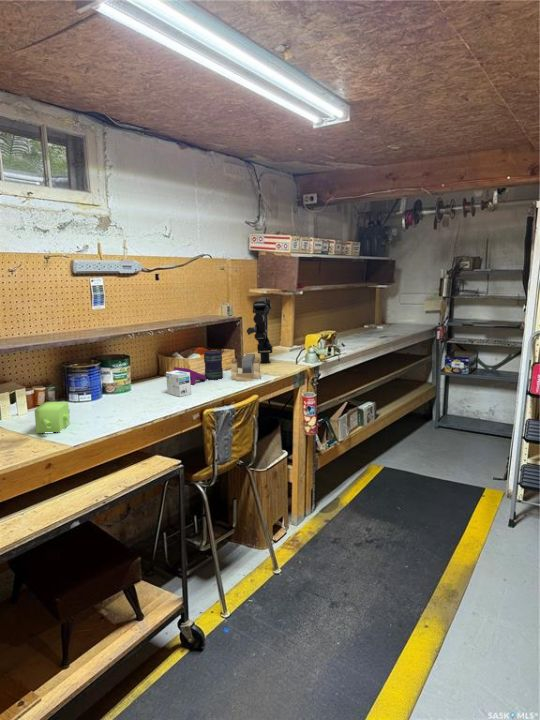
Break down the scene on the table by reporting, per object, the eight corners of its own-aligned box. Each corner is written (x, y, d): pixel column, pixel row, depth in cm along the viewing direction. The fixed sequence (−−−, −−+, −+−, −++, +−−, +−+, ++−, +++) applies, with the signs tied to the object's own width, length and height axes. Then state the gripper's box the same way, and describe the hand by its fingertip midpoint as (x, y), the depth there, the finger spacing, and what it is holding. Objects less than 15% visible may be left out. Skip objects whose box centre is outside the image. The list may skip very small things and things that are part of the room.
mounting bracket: (193, 390, 254) (169, 382, 240) (196, 375, 256) (174, 367, 241) (205, 392, 249) (183, 384, 234) (209, 377, 250) (187, 368, 236)
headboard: (232, 379, 252) (231, 357, 250) (260, 378, 251) (259, 357, 249) (230, 381, 247) (229, 359, 245) (259, 381, 245) (258, 359, 243)
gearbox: (59, 438, 166) (58, 413, 164) (31, 438, 165) (28, 413, 163) (76, 422, 184) (75, 398, 182) (50, 422, 183) (48, 399, 181)
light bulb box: (191, 394, 221) (190, 372, 220) (180, 397, 217) (178, 374, 215) (178, 391, 229) (176, 369, 227) (166, 394, 224) (165, 372, 222)
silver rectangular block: (246, 370, 275) (246, 353, 273) (255, 370, 274) (255, 353, 273) (242, 378, 255) (241, 359, 253) (252, 377, 255) (251, 359, 253)
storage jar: (215, 381, 248) (214, 353, 246) (201, 379, 254) (199, 352, 251) (226, 377, 257) (225, 350, 254) (212, 376, 262) (211, 349, 259)
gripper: (248, 320, 287) (249, 345, 290) (245, 324, 268) (246, 351, 271) (266, 320, 286) (267, 345, 289) (264, 323, 268) (265, 350, 271)
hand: (261, 348), depth 280 cm, fingers open, 8 cm apart
